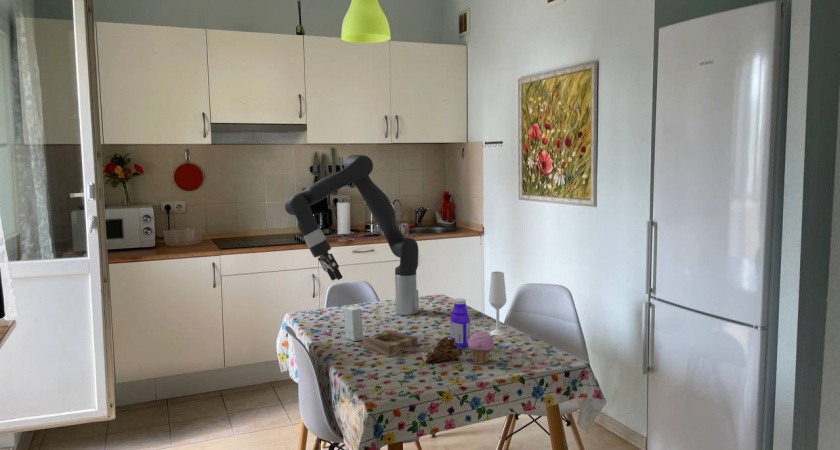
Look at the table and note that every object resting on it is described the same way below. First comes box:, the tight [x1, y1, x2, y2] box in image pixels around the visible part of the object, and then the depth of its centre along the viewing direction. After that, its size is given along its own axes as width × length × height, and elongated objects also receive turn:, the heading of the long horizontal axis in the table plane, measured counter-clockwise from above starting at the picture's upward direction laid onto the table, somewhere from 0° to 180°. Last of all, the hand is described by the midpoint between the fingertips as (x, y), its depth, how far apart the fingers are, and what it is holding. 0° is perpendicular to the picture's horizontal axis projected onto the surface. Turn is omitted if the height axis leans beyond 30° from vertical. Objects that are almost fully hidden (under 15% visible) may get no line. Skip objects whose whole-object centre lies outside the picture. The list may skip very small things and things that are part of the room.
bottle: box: [449, 297, 471, 349], centre depth 231 cm, size 7×6×17 cm
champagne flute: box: [488, 270, 507, 336], centre depth 245 cm, size 7×7×24 cm
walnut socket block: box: [362, 330, 418, 357], centre depth 232 cm, size 14×14×4 cm
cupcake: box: [468, 331, 495, 364], centre depth 215 cm, size 9×9×10 cm
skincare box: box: [343, 305, 364, 342], centre depth 242 cm, size 6×4×12 cm
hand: (337, 279), depth 247 cm, fingers open, 8 cm apart
